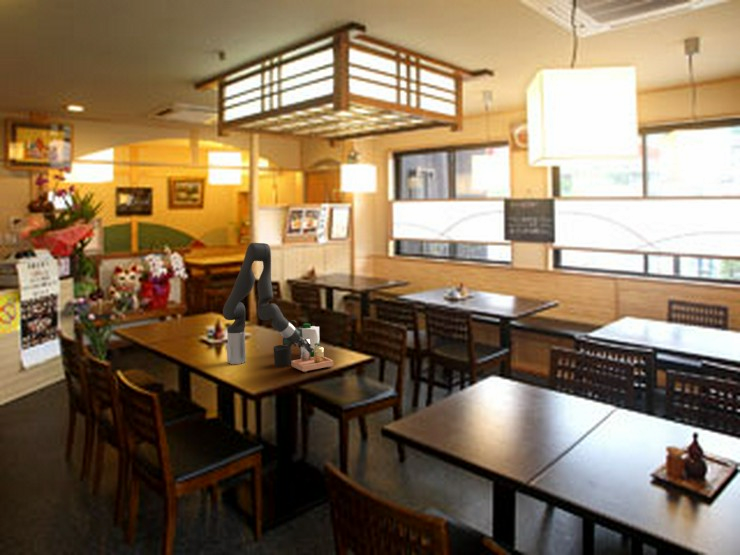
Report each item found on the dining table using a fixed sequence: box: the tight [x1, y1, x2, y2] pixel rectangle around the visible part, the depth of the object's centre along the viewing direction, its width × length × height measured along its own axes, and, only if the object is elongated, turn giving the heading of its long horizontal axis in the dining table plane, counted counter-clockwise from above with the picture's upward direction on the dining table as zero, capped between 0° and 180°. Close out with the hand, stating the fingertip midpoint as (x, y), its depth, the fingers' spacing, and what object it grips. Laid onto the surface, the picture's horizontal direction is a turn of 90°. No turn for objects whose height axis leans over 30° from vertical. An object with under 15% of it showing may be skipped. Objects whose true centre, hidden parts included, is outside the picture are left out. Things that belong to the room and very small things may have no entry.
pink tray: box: [290, 356, 335, 374], centre depth 284 cm, size 18×13×4 cm
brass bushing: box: [314, 345, 325, 363], centre depth 286 cm, size 5×5×8 cm
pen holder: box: [273, 344, 292, 368], centre depth 291 cm, size 9×9×10 cm
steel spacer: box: [299, 338, 310, 361], centre depth 281 cm, size 5×5×11 cm
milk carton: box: [301, 322, 321, 357], centre depth 301 cm, size 9×9×20 cm
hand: (308, 350), depth 282 cm, fingers closed on steel spacer, 5 cm apart
